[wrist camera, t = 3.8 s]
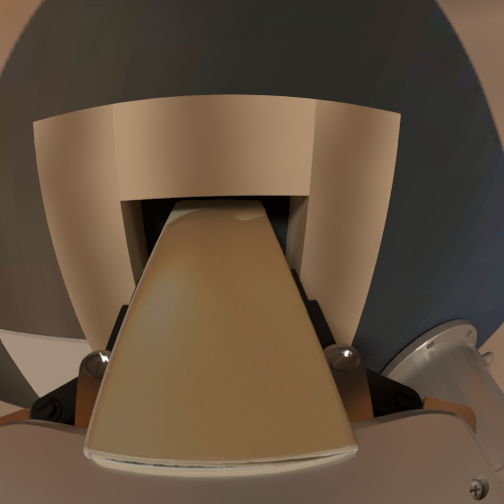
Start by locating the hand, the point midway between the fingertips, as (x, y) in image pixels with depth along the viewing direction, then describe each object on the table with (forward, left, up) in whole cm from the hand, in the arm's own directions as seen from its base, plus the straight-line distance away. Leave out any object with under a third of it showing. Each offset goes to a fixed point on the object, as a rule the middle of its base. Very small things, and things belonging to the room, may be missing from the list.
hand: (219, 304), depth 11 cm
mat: (+14, +12, -5) cm, 19 cm away
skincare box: (0, 0, -5) cm, 5 cm away
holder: (0, 0, -5) cm, 5 cm away
